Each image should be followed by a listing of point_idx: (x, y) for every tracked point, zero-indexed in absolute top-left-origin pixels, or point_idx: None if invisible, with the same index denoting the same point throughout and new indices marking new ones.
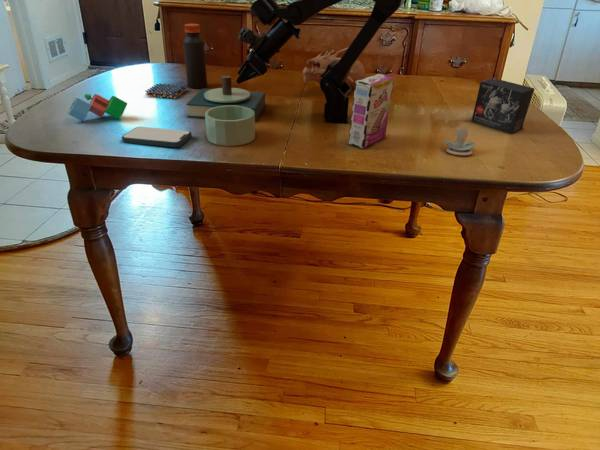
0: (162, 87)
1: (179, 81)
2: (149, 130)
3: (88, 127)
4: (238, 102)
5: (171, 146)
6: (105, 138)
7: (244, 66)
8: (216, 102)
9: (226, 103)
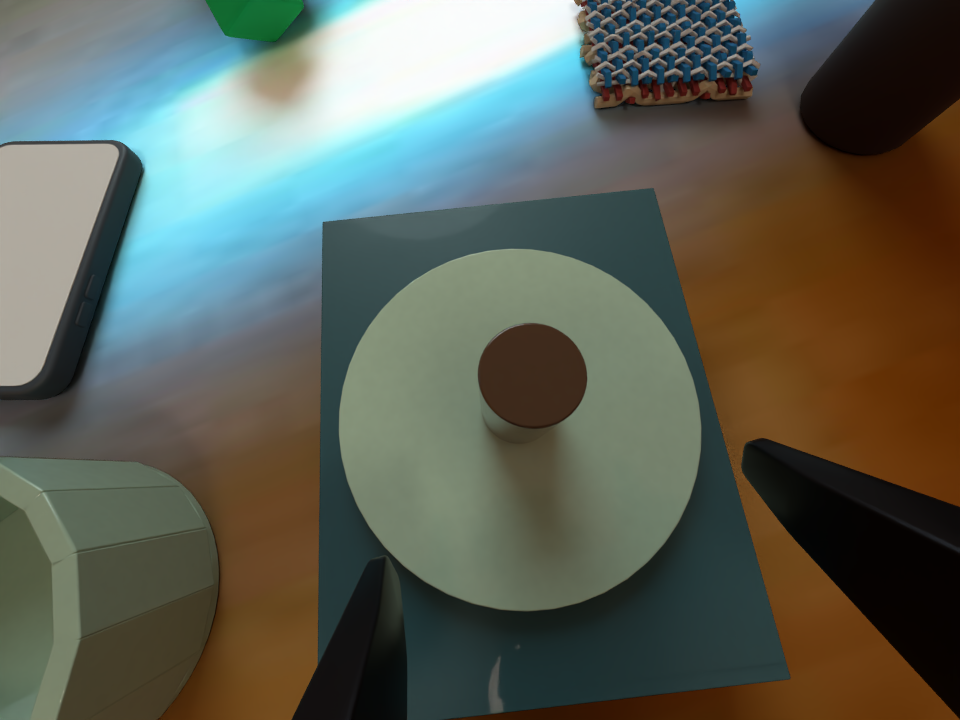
0: (669, 4)
1: None
2: (66, 204)
3: (174, 5)
4: None
5: None
6: (63, 97)
7: (883, 547)
8: None
9: None
